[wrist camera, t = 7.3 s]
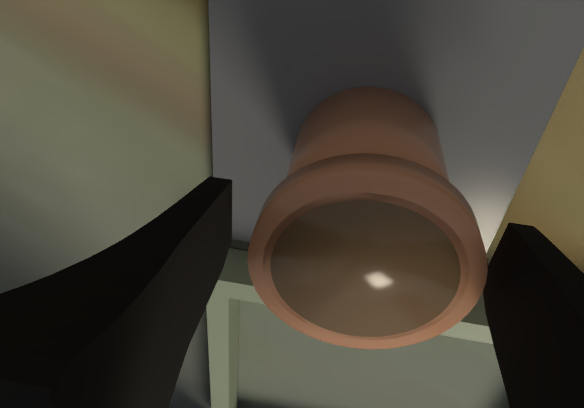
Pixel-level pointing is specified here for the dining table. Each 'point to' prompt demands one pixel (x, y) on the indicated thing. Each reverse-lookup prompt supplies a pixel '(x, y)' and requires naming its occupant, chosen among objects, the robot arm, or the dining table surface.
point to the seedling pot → (368, 228)
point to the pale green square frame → (240, 287)
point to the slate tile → (389, 84)
